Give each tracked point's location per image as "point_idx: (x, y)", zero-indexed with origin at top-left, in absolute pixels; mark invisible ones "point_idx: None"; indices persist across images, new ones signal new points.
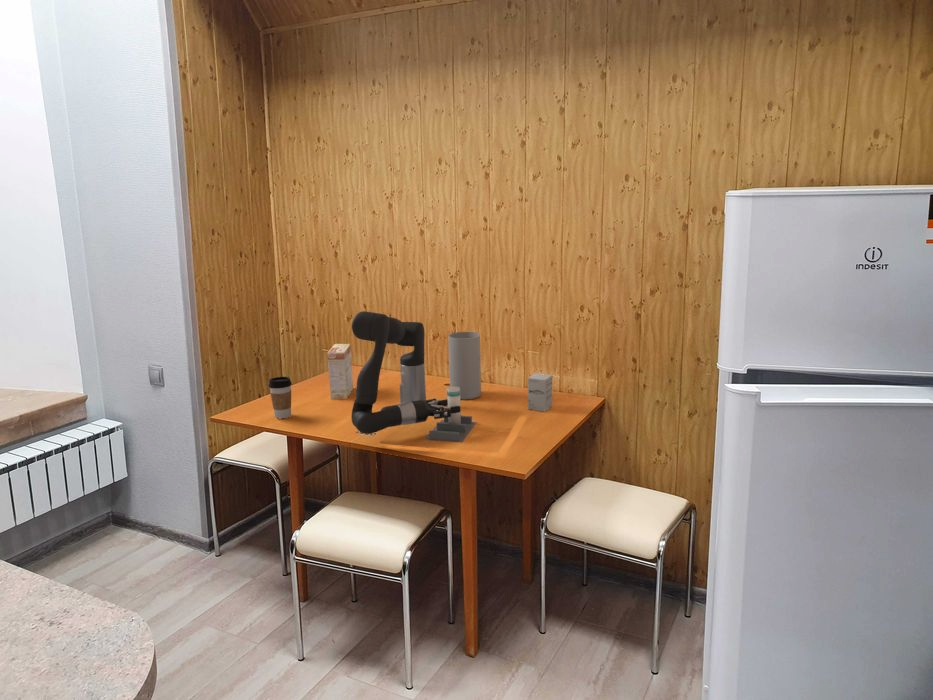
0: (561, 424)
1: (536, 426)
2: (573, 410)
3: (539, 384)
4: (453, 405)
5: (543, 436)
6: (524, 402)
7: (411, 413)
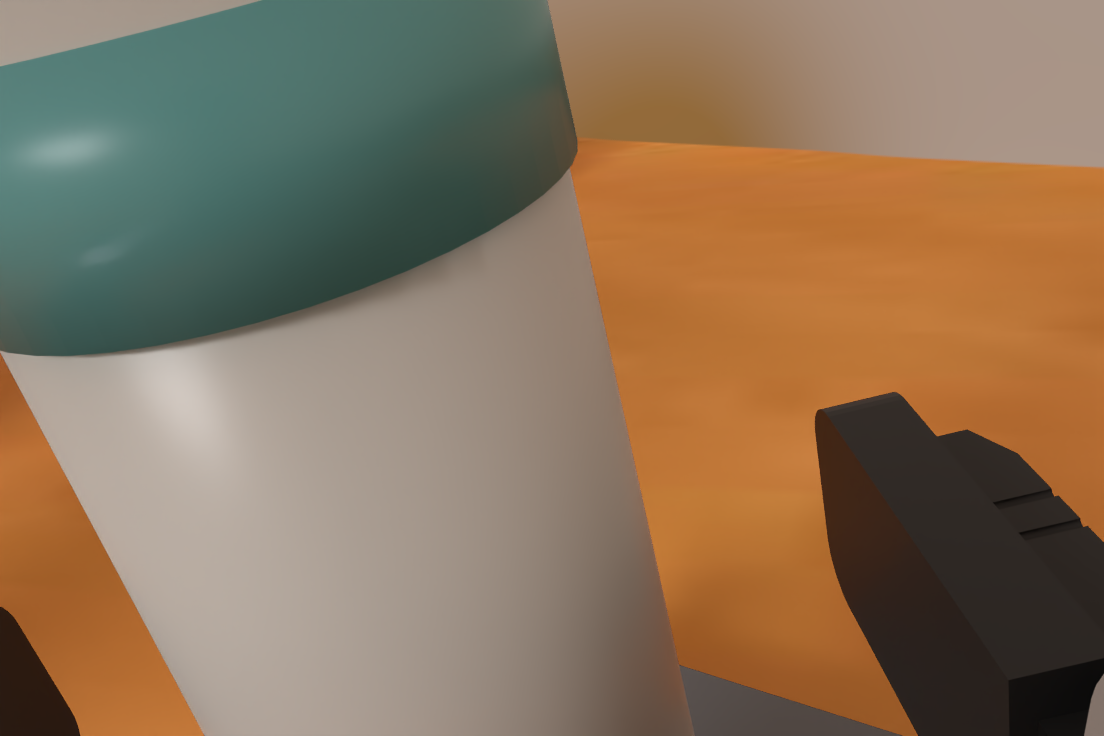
0: (767, 180)
1: (769, 260)
2: None
3: None
4: (624, 566)
5: (1063, 222)
6: None
7: None
